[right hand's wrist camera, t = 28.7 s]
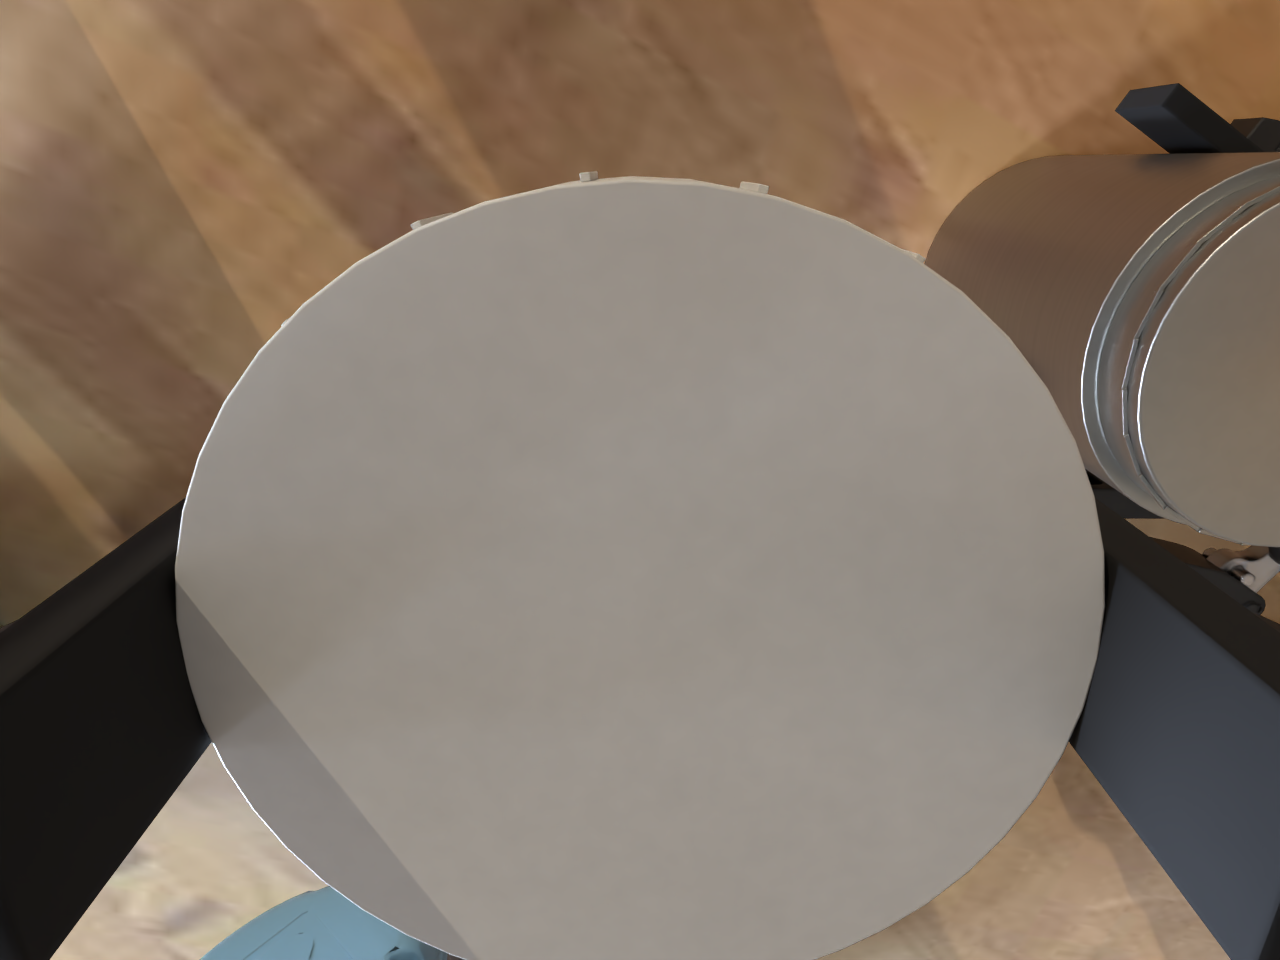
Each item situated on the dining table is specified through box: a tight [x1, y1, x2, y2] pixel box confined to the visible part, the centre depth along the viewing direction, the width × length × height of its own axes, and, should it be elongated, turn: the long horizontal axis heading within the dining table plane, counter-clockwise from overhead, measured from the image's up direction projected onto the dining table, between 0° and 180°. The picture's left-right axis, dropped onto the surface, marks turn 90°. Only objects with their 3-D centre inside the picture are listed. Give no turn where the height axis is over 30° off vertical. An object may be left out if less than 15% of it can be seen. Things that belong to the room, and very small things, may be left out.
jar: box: [925, 152, 1280, 547], centre depth 28 cm, size 10×10×16 cm
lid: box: [175, 171, 1105, 960], centre depth 11 cm, size 11×11×2 cm
